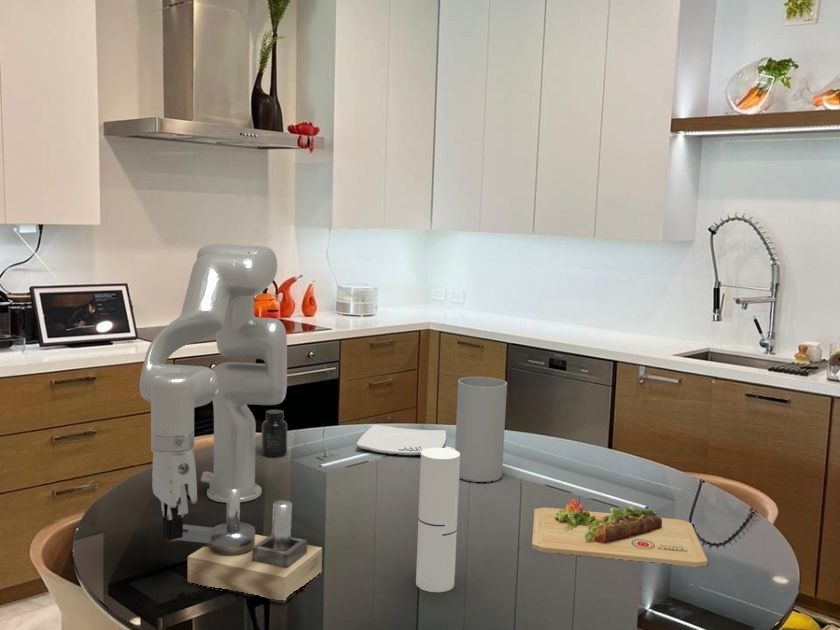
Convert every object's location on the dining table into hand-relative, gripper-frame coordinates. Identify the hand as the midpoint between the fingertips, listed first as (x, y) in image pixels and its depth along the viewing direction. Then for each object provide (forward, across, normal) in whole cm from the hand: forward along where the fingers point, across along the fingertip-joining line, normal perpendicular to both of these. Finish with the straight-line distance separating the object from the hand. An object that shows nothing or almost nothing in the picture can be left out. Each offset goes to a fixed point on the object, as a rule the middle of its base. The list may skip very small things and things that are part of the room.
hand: (172, 537), depth 156 cm
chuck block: (+7, -10, -12) cm, 17 cm away
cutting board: (+8, -36, -84) cm, 92 cm away
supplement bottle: (+7, +55, -52) cm, 76 cm away
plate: (+7, +43, -88) cm, 98 cm away
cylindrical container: (+7, -31, -38) cm, 49 cm away
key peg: (+2, -15, -14) cm, 21 cm away
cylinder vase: (+7, +10, -87) cm, 88 cm away
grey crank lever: (+2, -3, -6) cm, 7 cm away
